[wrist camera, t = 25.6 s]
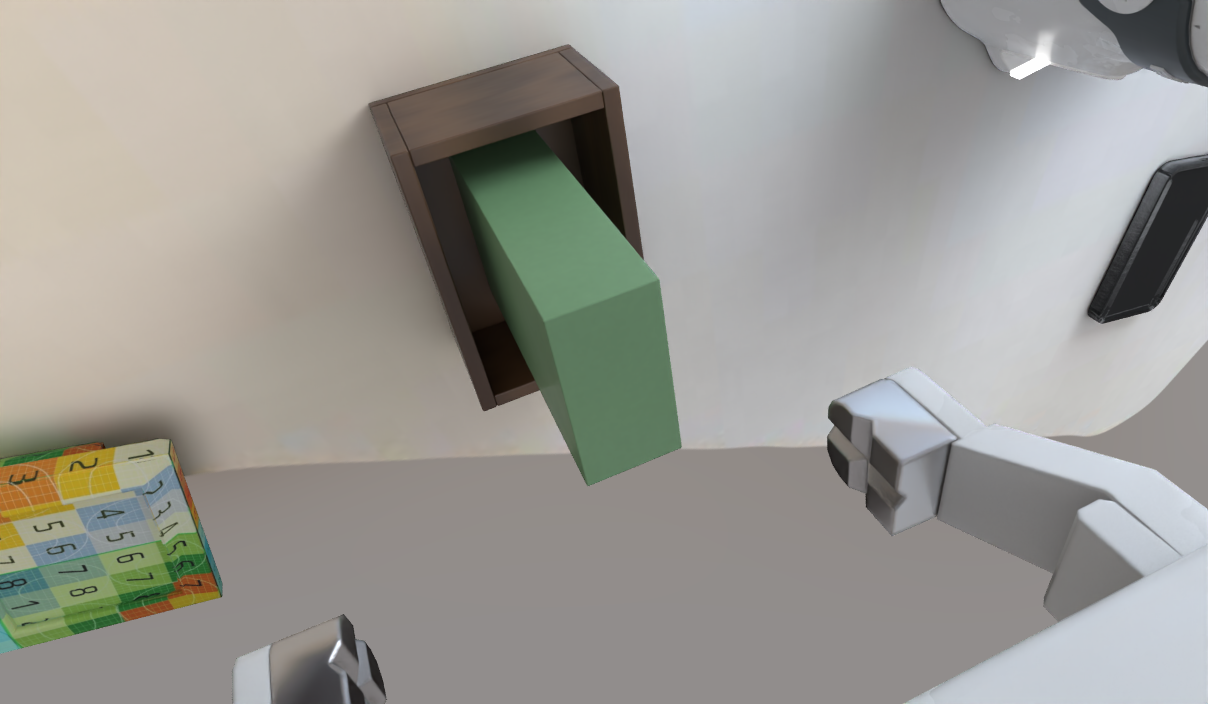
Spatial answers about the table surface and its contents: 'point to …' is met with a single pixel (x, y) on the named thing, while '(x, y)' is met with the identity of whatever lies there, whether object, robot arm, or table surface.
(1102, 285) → the phone
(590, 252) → the tea packet
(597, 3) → the table surface
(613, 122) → the box
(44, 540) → the puzzle game
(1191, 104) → the table surface
